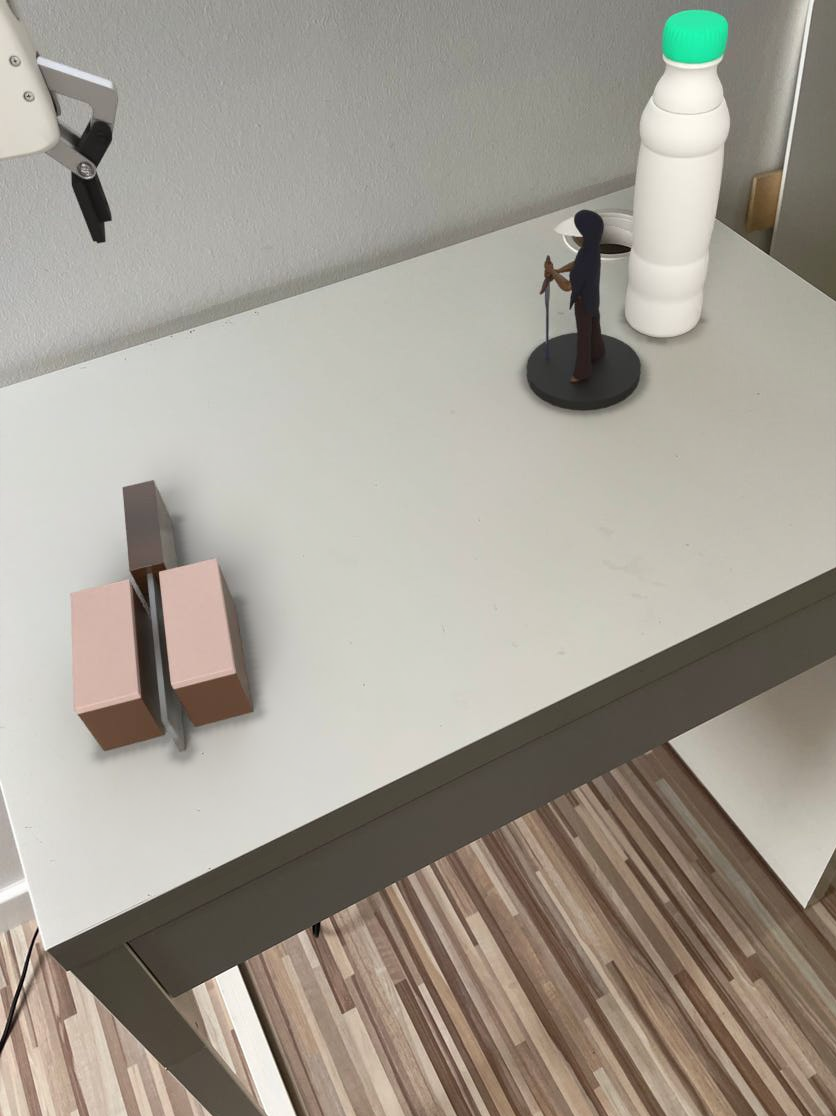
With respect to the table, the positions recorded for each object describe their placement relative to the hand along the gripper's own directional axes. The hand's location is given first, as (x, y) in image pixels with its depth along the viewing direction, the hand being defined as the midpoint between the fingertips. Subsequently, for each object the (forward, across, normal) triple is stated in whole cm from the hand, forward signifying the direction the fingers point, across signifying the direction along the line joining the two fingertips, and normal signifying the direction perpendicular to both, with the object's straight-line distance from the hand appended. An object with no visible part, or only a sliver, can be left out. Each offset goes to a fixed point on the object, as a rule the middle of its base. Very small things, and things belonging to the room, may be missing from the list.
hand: (23, 245), depth 60 cm
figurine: (+21, -40, -2) cm, 45 cm away
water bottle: (+21, -50, -8) cm, 55 cm away
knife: (+21, -2, +16) cm, 27 cm away
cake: (+21, -2, +20) cm, 29 cm away
